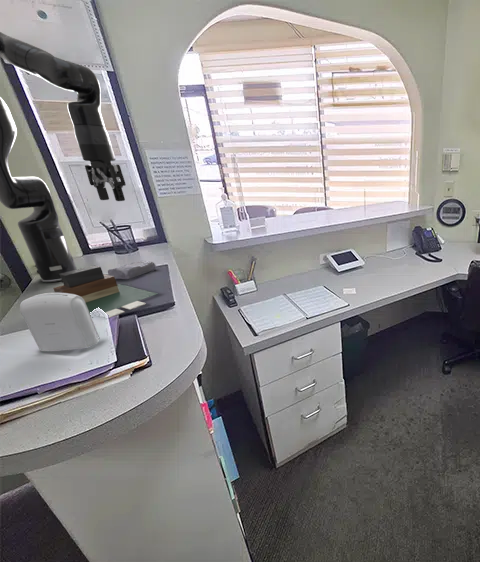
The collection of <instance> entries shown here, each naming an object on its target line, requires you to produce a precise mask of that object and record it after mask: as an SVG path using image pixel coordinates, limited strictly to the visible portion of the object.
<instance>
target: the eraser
mask: <svg viewBox="0 0 480 562" xmlns="http://www.w3.org/2000/svg"><path fill="white" fill-rule="evenodd" d="M59 275H60V277H61V279H62V284H63V285H60V286H55V287H53V292H54V293H69V294H74V295H78V296H80V297H82V298H83V299H84V301H85V303H86V302H89V301H92V300H96V299H99V298H102V297H105V296H108V295H111V294H114V293H117V292H119V289H118V286H117V285H118V282H117V279H115V277H114V276H111V275H108V274H106V273H103V270H102V266H99V265H90V266H85V267H82V268H78V269H77V270H73V271H69V272H65V273H61V274H59Z"/></svg>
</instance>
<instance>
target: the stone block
mask: <svg viewBox="0 0 480 562" xmlns="http://www.w3.org/2000/svg"><path fill="white" fill-rule="evenodd" d="M156 268H157V265H156V263H155V262H154V261H148V260H138V261H135V262H131V263H128V264H125V265H122V266H118V267H114V268H110V269H108V270H107V275H111V276H114V277H115V280H130V279H133V278H136V277H138V276H141V275H144V274H147V273H149V272H154V271H156V270H157V269H156Z"/></svg>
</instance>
